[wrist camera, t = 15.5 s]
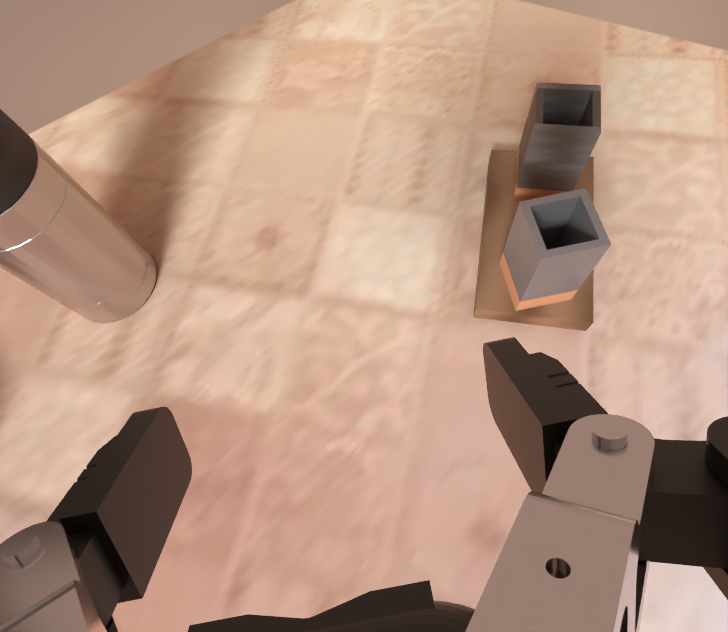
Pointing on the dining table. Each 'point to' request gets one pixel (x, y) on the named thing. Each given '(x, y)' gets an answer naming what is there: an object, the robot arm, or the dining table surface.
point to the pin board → (534, 180)
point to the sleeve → (552, 248)
